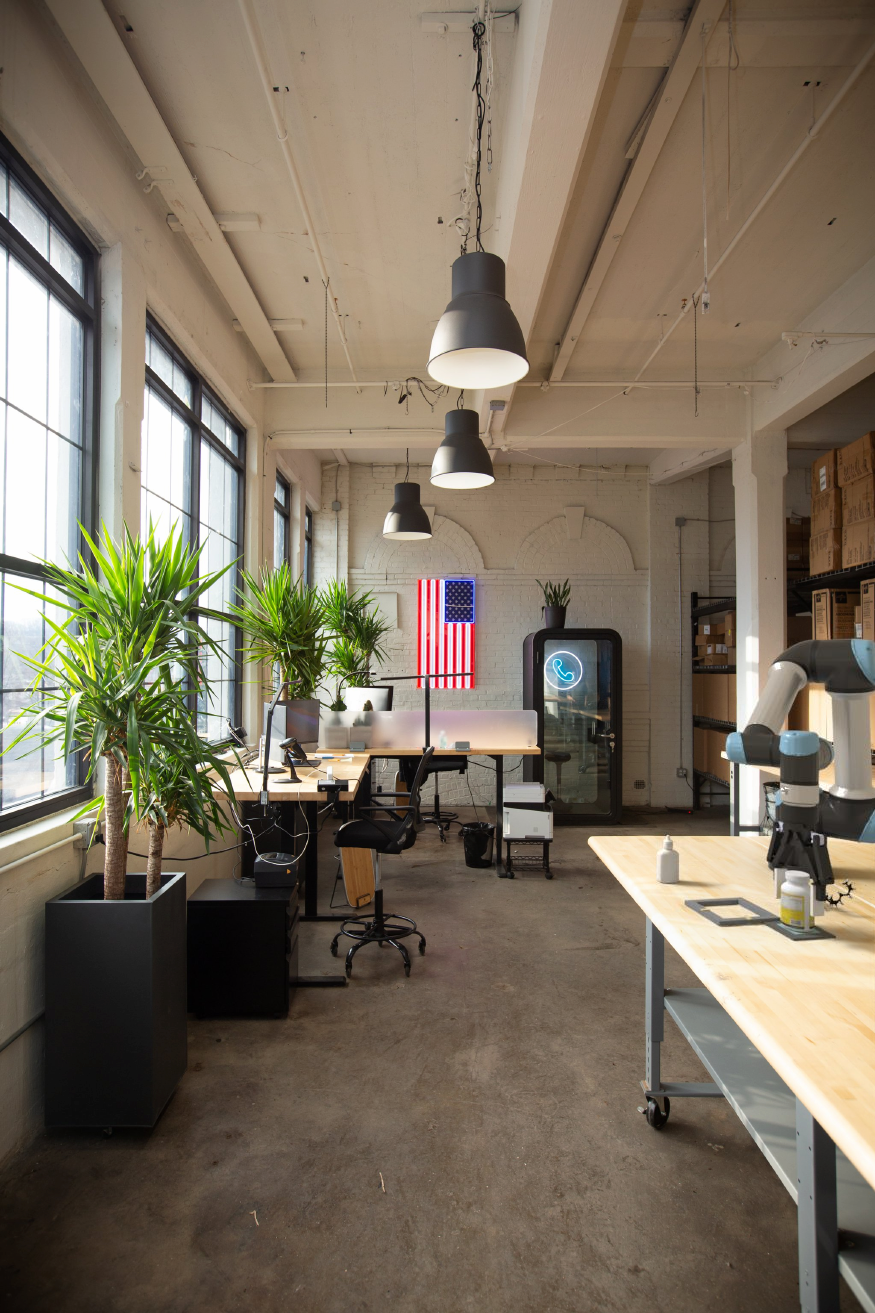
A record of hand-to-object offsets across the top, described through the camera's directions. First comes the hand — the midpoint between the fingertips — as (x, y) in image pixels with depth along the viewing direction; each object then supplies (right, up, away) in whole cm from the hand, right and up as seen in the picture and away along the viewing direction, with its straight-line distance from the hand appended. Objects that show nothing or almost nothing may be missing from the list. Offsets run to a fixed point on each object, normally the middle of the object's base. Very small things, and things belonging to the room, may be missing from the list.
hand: (798, 906), depth 151 cm
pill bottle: (0, -5, 0) cm, 5 cm away
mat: (0, -5, 0) cm, 5 cm away
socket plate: (-10, -5, +10) cm, 15 cm away
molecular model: (+14, -6, +16) cm, 22 cm away
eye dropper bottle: (-17, -6, +34) cm, 38 cm away
